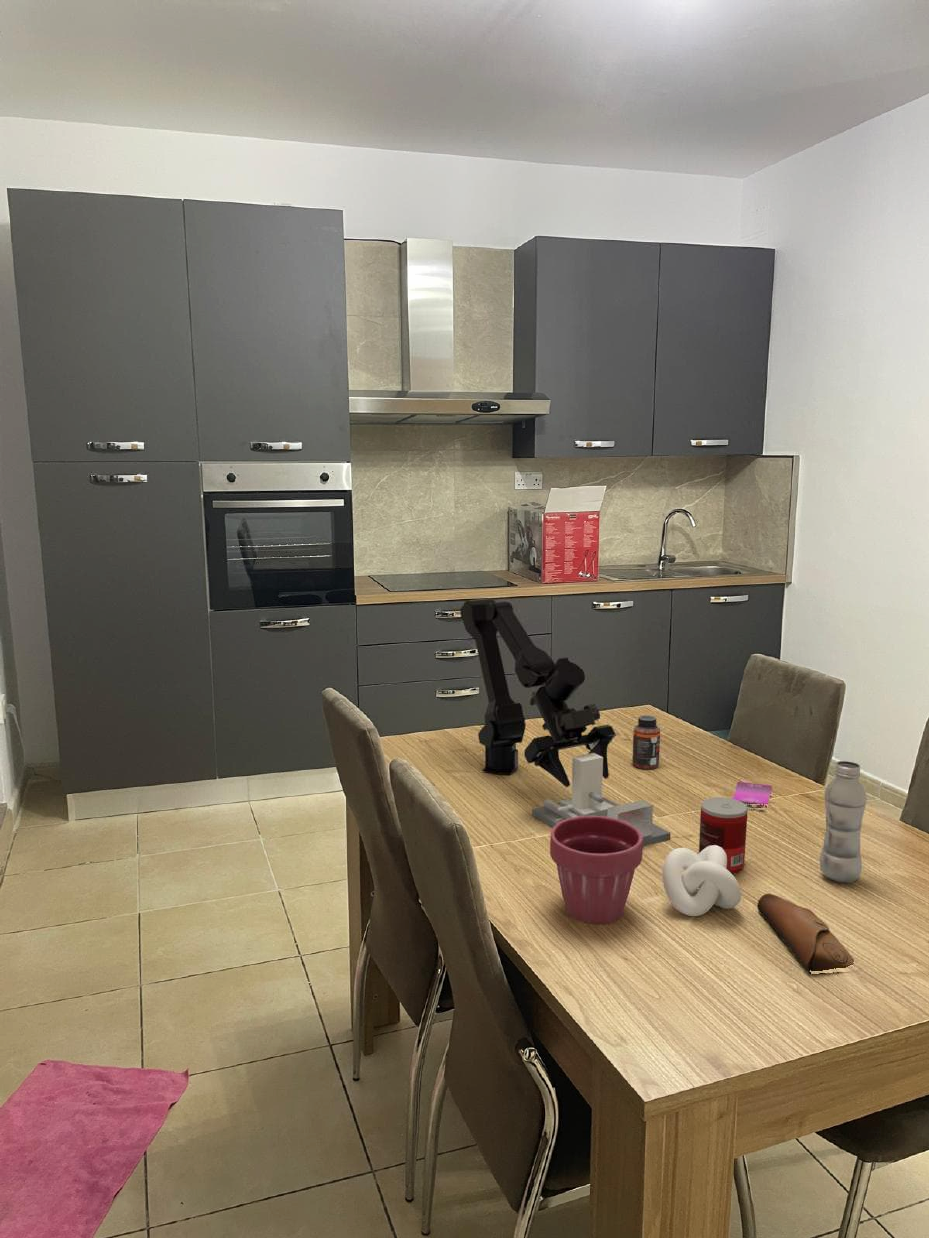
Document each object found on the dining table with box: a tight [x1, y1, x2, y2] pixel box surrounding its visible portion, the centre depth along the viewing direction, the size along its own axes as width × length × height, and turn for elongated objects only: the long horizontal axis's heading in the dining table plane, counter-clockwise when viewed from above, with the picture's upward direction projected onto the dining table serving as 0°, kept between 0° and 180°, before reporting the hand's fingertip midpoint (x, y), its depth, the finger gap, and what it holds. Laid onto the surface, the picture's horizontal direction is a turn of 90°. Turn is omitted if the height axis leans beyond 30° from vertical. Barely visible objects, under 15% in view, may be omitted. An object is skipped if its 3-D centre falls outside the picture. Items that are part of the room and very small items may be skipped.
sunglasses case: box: [756, 893, 855, 973], centre depth 135 cm, size 18×7×7 cm
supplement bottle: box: [632, 715, 661, 770], centre depth 207 cm, size 6×6×11 cm
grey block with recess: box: [607, 799, 654, 838], centre depth 167 cm, size 3×8×6 cm, turn 119°
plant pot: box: [549, 816, 644, 925], centre depth 142 cm, size 14×14×13 cm
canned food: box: [698, 796, 748, 875], centre depth 158 cm, size 8×8×11 cm
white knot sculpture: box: [662, 845, 742, 917], centre depth 144 cm, size 11×12×9 cm
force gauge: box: [558, 753, 612, 817], centre depth 176 cm, size 8×10×11 cm
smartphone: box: [732, 781, 773, 812], centre depth 190 cm, size 7×15×1 cm, turn 158°
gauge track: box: [531, 796, 671, 847], centre depth 175 cm, size 22×16×2 cm
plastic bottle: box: [819, 760, 868, 884], centre depth 152 cm, size 6×7×20 cm
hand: (587, 781), depth 177 cm, fingers open, 9 cm apart
